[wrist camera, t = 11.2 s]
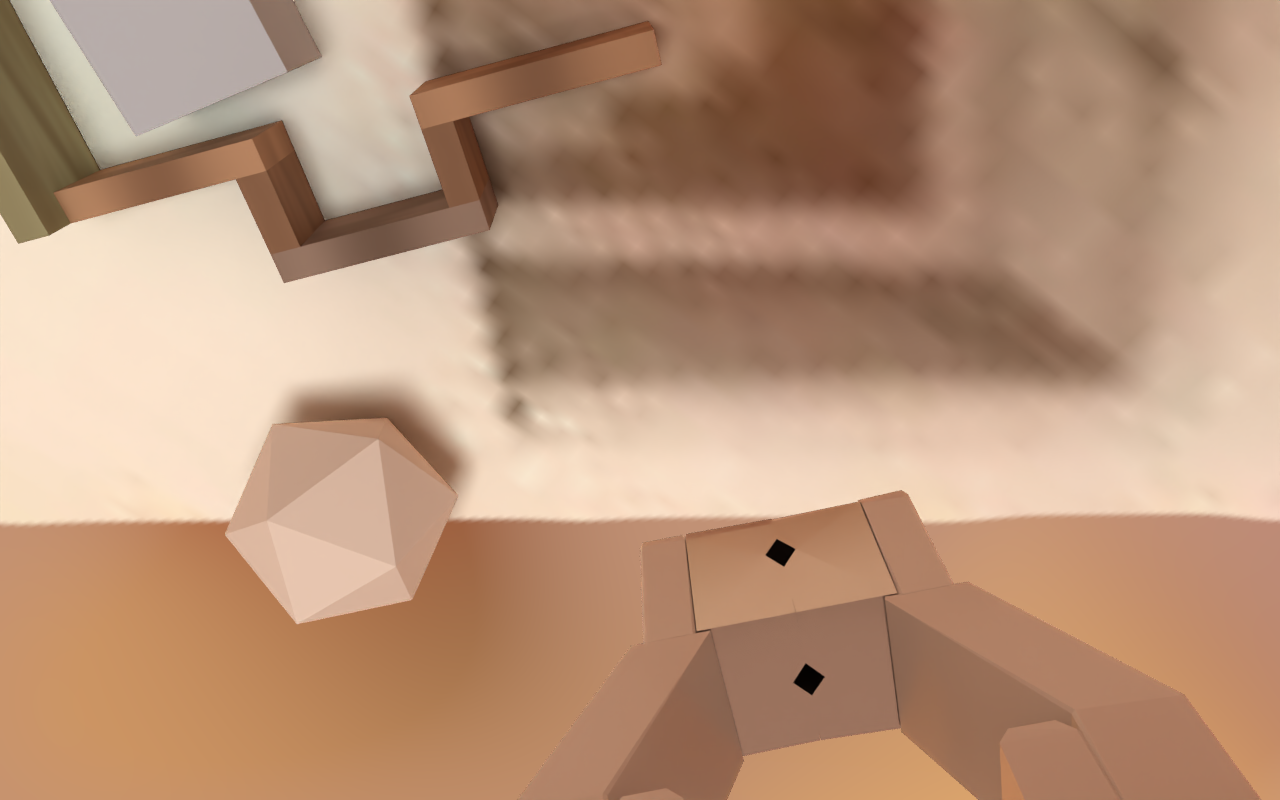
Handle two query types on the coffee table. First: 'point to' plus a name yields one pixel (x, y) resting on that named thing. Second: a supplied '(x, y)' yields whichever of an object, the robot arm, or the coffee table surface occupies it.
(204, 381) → the coffee table surface
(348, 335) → the coffee table surface
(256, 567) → the die
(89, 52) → the block
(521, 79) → the box
